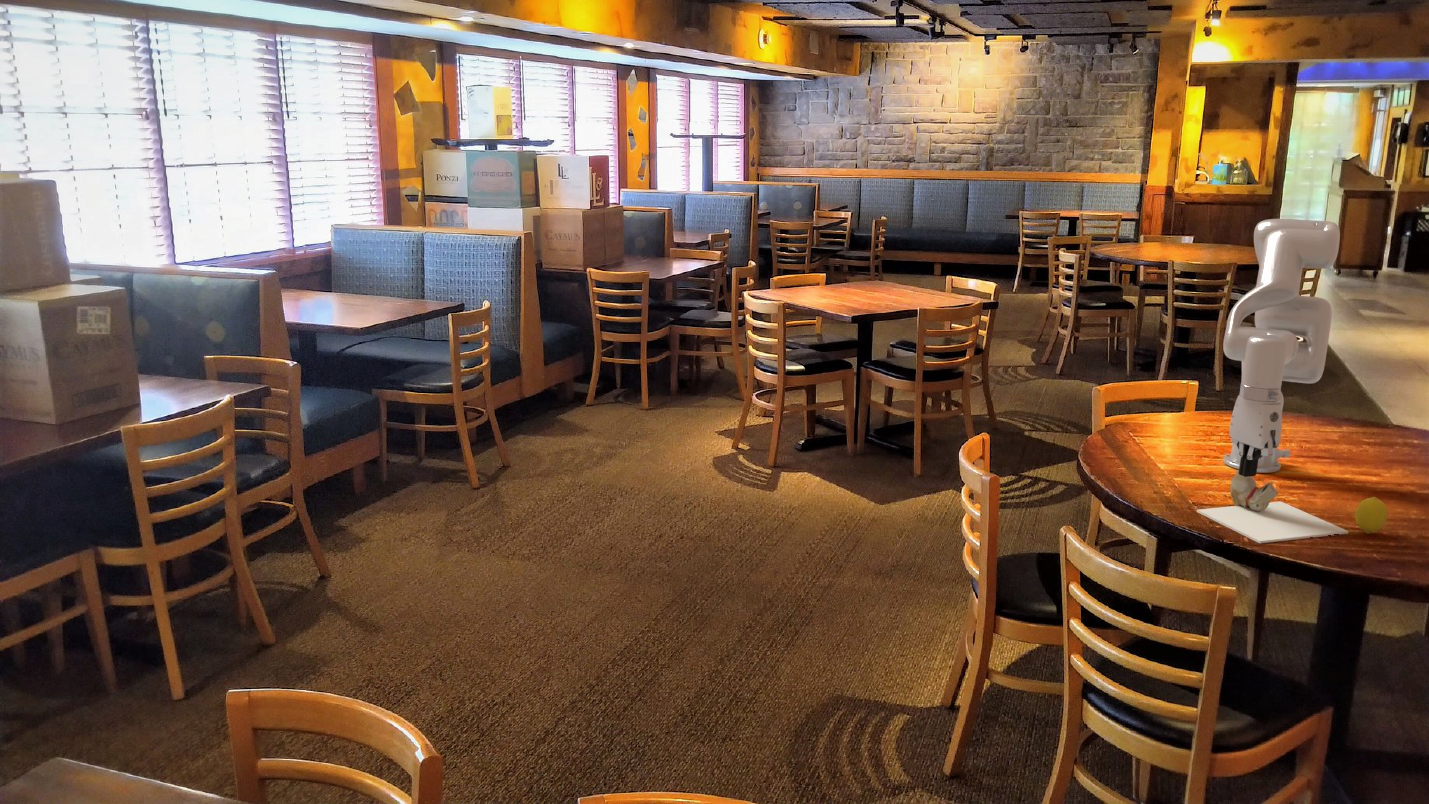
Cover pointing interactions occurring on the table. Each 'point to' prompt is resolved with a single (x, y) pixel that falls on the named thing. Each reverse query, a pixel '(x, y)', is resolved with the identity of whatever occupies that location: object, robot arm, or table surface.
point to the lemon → (1371, 515)
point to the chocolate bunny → (1251, 493)
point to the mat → (1272, 522)
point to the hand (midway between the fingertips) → (1247, 475)
